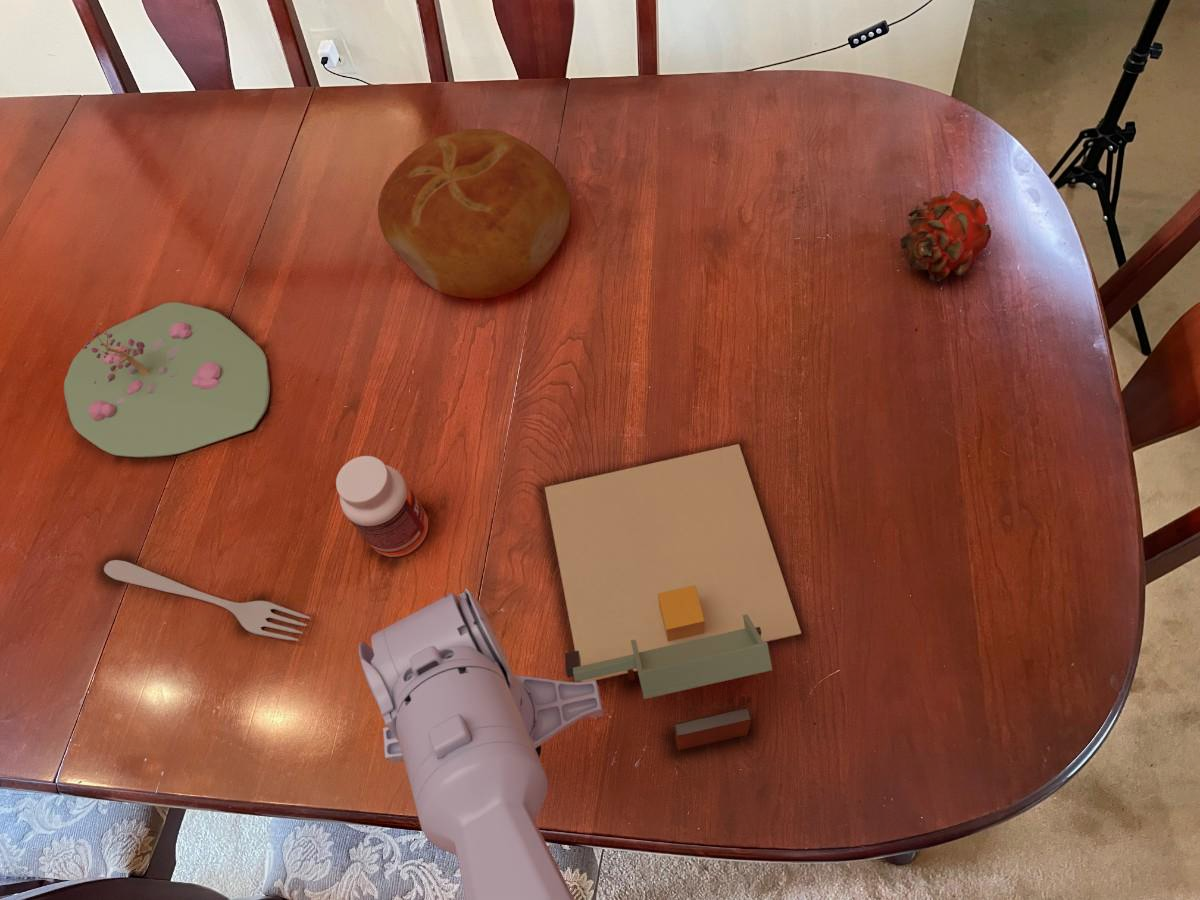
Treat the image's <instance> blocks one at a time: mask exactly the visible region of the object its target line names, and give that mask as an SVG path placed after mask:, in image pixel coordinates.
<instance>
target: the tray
mask: <svg viewBox="0 0 1200 900" xmlns="http://www.w3.org/2000/svg"><path fill="white" fill-rule="evenodd" d="M743 619H744V625H745V629H741V630H736V631H732V632H727V633H723V634H719V635H714V636H710V637H705V638H701V639H696V640H692V641H688V642H683V643H679V644H674V645H670V646H665V647H661V648H657V649H652V650H648V651H643V652H638V648H637V643H636V640H631V644H632V648H633V653H634V654H632V655H628V656H623V657H619V658H615V659H610V660H606V661H601V662H597V663H592V664H588V665H584V666H581V658H580V654H579V651H575V650H574V651H570V652H565V653H564V659H565V660H564V664H565V665H564V666H565V674H566V676H567V677H566V678H568V679H569V678H572V677H573V679H574V682H581V681H582V680H586V679H591V678H595V677H599V676H604V675H608V674H613V673H617V672H621V671H626V670H630V669H635V668H637V671H636V672H637V674H638V679H639V684H640V688H641V692H642V693H641V694H642V697H643V700H646V699H647V700H648V699H651V698H655V697H656V698H657V697H661V696H665V695H669V694H674V693H678V692H683V691H686V690H691V689H696V688H701V687H704V686H709V685H712V684H718V683H722V682H726V681H731V680H735V679H740V678H745V677H748V676H753V675H757V674H762V673H766V672H770V671H773V665H772V659H771V654H770V649H769V644H768V642H763V640H762V639H761V637H760V635H759V633H758V632H757V630H756V628H755V627H754V625H753V623H752V621H751V620H750V618H749V616H748V615H747V614H746V615H743Z"/></svg>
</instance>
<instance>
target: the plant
mask: <svg viewBox="0 0 1200 900" xmlns="http://www.w3.org/2000/svg"><path fill="white" fill-rule="evenodd" d="M99 334H100V333H99V332H98V331H96V332H94V333H93V334H92V338H94V339H93V340H88V341H86V342H85V345H84V346H83V347H82V348H81V350H80V351H79V352H78V353H77V354H76V355H75V356H74V358H73V359H72V361H71V363H70V366H69V368H68V370H67V373H66V375H65V378H64V383H63V394H64V399H65V403H66V409H67V412H68V417H69V420H70V423H71V425H72V427H73V428H74V430H76V431H77V433H78V434H79V435H81V436H82V437H83V438H84V439H86V440H87V441H88V442H90V443H91V444H93V445H94V446H95V447H97V448H98V449H100V450H102V451H104V452H106V453H108V454H110V455H113V456H117V457H123V458H124V457H126V458H139V459H140V458H158V457H159V458H160V457H169V456H175V455H181V454H184V453H188V452H191V451H194V450H197V449H200V448H203V447H206V446H209V445H211V444H214V443H217V442H221V441H223V440H227V439H230V438H232V437H236V436H239V435H241V434H244V433H247V432H250V431H253V430H255V428H256V427H257V425H258V424H259V423H260V421H261V419H262V418H263V416H264V415H265V413H266V411H267V408H268V406H269V403H270V402H269V401H270V396H271V395H270V394H271V381H270V374H269V364H268V359H267V356H266V353H265V352H264V350H263V349H262V348H261V347H260V346H259V344H257V343H256V342H255V341H254V340H253V339H252V338H251V337H250V336H249V335H247V334H246V333H245V332H244V331H242V330H241V329H240V328H239V327H238V326H237V325H236V324H235V323H233V322H232V321H231V320H230V319H228V318H227V317H226V316H225V315H223V314H221V313H220V312H218V311H215V310H212V309H209V308H206V307H201V306H197V305H192V304H189V303H183V302H180V301H179V302H165V303H161V304H159V305H157V306H155V307H153V308H151V309H148V310H147V311H146V310H145V311H143V312H142V313H140V314H137V315H135V316H133V317H131V318H128V319H126V320H125V321H122V322H119V323H118V324H115V325H113V326H112V327H110V328H108V329H107V330H105V331H103V333H101V334H100V335H99Z"/></svg>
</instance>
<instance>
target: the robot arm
mask: <svg viewBox="0 0 1200 900" xmlns="http://www.w3.org/2000/svg"><path fill="white" fill-rule="evenodd" d="M370 644H371V646H370V645H369V644H368V643H366V642H364V641H360V642H359V644H358V655H359V660H360V664H361V667H362V671H363V674H364V677H365V680H366V683H367V685H368V688H369V690H370V693H371V695H372V697H373V699H374V701H375V703H376V705H377V706H378V708H379V712H380V715H381V717H382V719H383V722H384V724H385V727H383V728H382V733H383V734H382V735H383V750H384V759H386V760H387V761H390V762H391V763H393V764H396V763H397V764H398V763H401V762H404V766H405V770H406V775H407V778H408V782H409V785H410V790H411V793H412V797H413V798H412V799H413V802H414V805H415V809H416V814H417V816H418V818H417V819H418V821H419V825H420V829H421V831H422V833H423V835H424V836H425V838H426V839H427V840H428V841H429V842H430V844H432V845H434V846H435V847H437V848H438V849H440V850H442V851H444V852H447V853H449V854H453V855H455V856H456V857H457V863H458V867H459V873H460V874H459V875H460V879H461V884H462V889H463V895H464V900H576V899H575V897H574V895H573V893H572V891H571V889H570V887H569V886H568V885H569V884H568V883H567V881H566V879H565V878H564V875H563V873H562V872H561V870H560V868H559V866H558V863H557V861H556V860H555V858H554V856H553V854H552V852H551V849H550V848H549V846H548V843H547V842H546V840H545V838H544V836H543V834H542V832H541V830H540V828H539V826H538V824H537V818H538V816H539V814H540V812H541V810H542V808H543V806H544V804H545V800H546V798H547V794H548V789H549V788H548V787H549V786H548V784H549V782H548V776H547V773H546V770H545V769H544V766H543V764H542V761H541V758H540V757H541V753H542V745H543V744H544V743H546V742H548V741H550V740H551V739H553V738H554V737H555V736H557V735H559V734H560V733H562V732H563V731H564V730H566V729H568V728H570V727H571V726H572V725H574V724H575V723H577V722H579V721H581V720H582V719H585V718H587V717H588V718H589V719H596V718H600V717H604V716H605V712H604V706H603V703H602V697H601V692H600V687H599V685H598V682H597V680H592V681H586V682H581V681H577V682H575V681H565V680H557V679H549V678H541V677H534V676H527V675H519V674H515V673H514V671H513V670H512V668H511V664H510V661H509V659H508V656H507V654H506V652H505V650H504V649H505V648H503V645H502V643H501V641H500V639H499V636H498V635H497V632H496V631H495V629H494V627H493V625H492V623H491V621H490V619H489V618H488V616H487V614H486V612H485V610H484V608H483V607H482V605H481V603H480V602H479V600H478V599H477V598H476V597H475V596H474V594H472V593H471V591H469V590H468V588H464V591H463V592H461V593H459V594H458V595H456V594H455V593H454V592H450V593H449V594H447V595H445V596H443V597H441V598H439V599H437V600H435V601H433V602H432V603H430V604H427V605H426V606H423V607H422V608H420V609H418V610H416V611H415V612H412V613H410V614H409V615H407V616H405V617H403V618H401V619H399V620H397V621H395V622H394V623H391V624H389V625H388V626H386V627H384V628H382V629H380V630H378V631H376V632H374V633H372V634H371V637H370Z"/></svg>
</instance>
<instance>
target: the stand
mask: <svg viewBox="0 0 1200 900" xmlns="http://www.w3.org/2000/svg"><path fill="white" fill-rule="evenodd" d="M756 630H757V632H758V633H759V635H760V636H761V629H760V627H756ZM627 672H628V673H627V675H628V679H629V682H635V681H636V677H635V672H634V671H633V669H630V670H627ZM749 710H750V709H749V708H748V707H743V708H739V709H734V710H729V711H725V712H721V713H717V714H712V715H708V716H703V717H699V718H694V719H691V720H685V721H681V722H677V723H674V727H673V728H674V736H675V742H676V747H677V750H678V751H683V750H686V749H690V748H697V747H700V746H704V745H709V744H713V743H716V742H717V743H718V742H722V741H726V740H730V739H735V738H739V737H742V736H747V735H748V732H749V729H750V726H751V722H752V716H751V713H750V711H749Z"/></svg>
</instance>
